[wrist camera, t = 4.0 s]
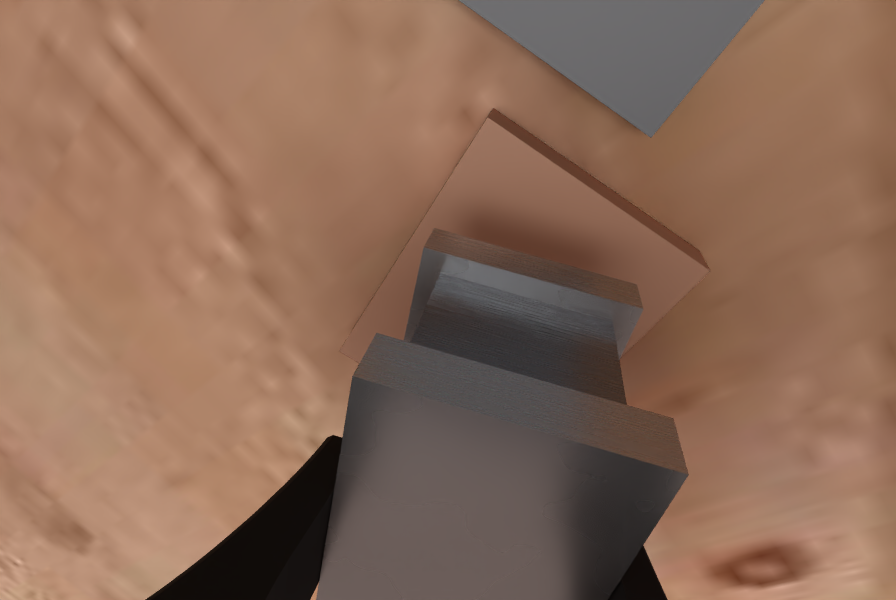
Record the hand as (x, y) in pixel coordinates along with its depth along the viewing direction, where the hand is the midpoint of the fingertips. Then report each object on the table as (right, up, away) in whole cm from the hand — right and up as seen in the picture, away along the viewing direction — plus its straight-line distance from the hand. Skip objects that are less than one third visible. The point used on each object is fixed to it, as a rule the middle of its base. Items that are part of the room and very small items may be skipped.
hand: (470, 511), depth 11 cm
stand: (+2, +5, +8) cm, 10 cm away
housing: (+1, +2, +4) cm, 4 cm away
